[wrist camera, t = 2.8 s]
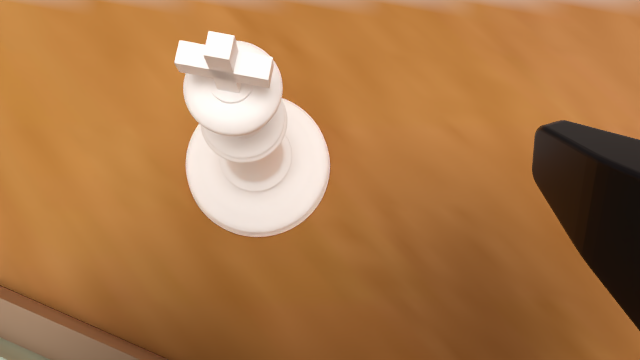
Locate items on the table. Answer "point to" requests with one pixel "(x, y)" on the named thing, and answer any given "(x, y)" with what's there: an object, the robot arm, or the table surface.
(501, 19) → the table surface
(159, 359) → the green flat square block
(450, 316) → the table surface
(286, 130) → the chess piece
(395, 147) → the table surface
